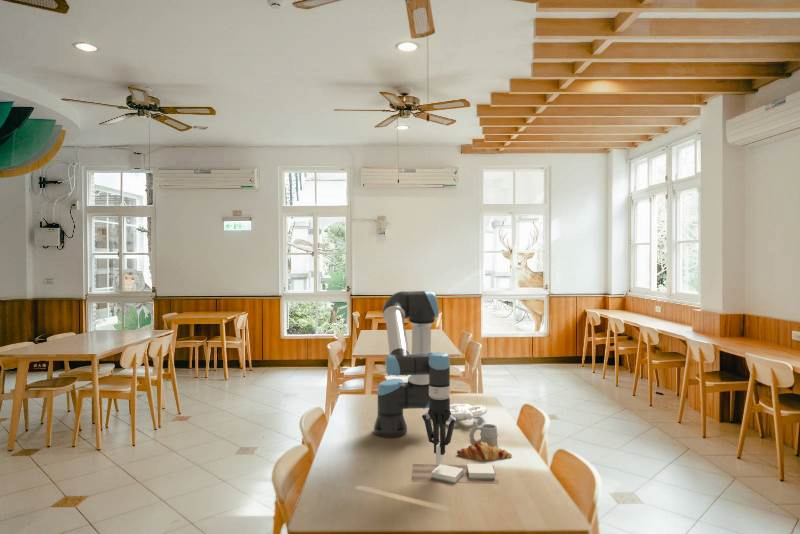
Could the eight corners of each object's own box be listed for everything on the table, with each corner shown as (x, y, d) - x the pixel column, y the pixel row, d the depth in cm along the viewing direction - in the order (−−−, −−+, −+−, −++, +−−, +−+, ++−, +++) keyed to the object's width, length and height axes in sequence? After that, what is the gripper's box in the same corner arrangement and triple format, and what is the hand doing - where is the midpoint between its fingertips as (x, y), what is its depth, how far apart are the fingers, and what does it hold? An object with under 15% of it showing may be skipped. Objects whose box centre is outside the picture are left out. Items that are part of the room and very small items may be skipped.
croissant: (510, 466, 195) (509, 444, 199) (514, 463, 186) (513, 440, 190) (456, 463, 197) (456, 442, 200) (457, 460, 188) (457, 438, 191)
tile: (440, 464, 180) (463, 468, 176) (440, 469, 180) (463, 474, 176) (431, 472, 173) (455, 477, 169) (431, 477, 173) (455, 483, 169)
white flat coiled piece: (421, 421, 245) (420, 408, 245) (450, 412, 262) (449, 400, 263) (467, 426, 226) (466, 411, 226) (495, 416, 243) (494, 402, 244)
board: (412, 467, 185) (412, 464, 185) (493, 468, 184) (493, 465, 184) (411, 485, 170) (411, 481, 170) (499, 487, 169) (499, 483, 169)
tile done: (467, 469, 181) (467, 463, 181) (491, 469, 180) (491, 464, 180) (468, 478, 173) (468, 472, 173) (494, 479, 172) (494, 473, 172)
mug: (499, 454, 198) (499, 424, 198) (469, 453, 199) (469, 423, 199) (497, 447, 205) (497, 418, 205) (469, 446, 207) (468, 417, 207)
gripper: (418, 397, 176) (418, 463, 176) (452, 401, 170) (452, 470, 170) (427, 392, 183) (427, 456, 183) (460, 396, 176) (460, 462, 177)
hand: (439, 462), depth 176 cm, fingers closed
